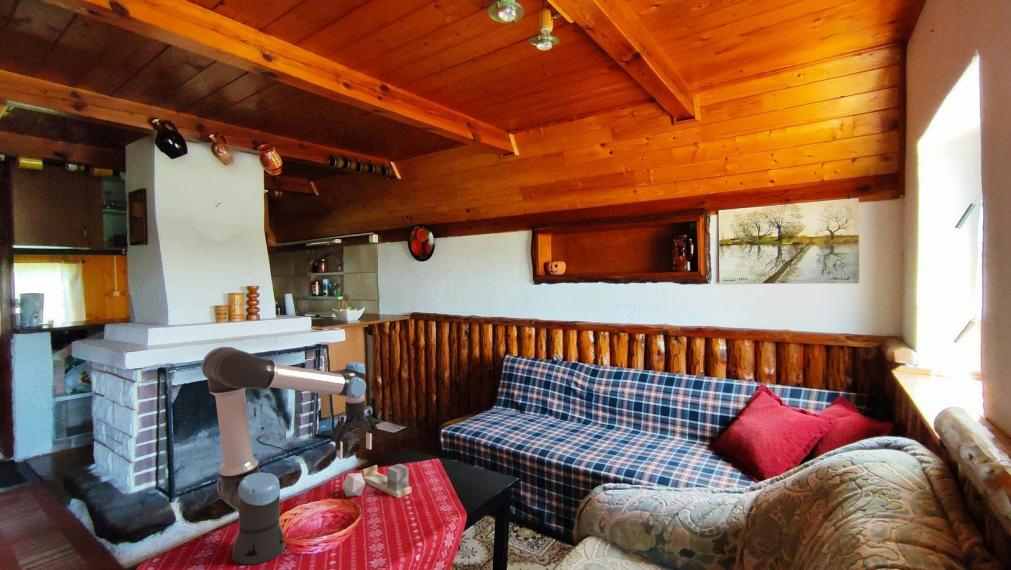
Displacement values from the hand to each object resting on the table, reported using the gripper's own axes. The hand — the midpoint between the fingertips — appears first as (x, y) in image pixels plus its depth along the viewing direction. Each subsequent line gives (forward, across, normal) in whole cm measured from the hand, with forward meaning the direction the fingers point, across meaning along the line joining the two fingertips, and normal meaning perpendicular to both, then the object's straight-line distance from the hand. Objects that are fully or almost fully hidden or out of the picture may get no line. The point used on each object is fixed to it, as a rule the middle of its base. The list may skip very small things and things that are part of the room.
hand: (354, 453), depth 199 cm
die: (+17, 0, 0) cm, 17 cm away
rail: (+17, +13, -4) cm, 21 cm away
